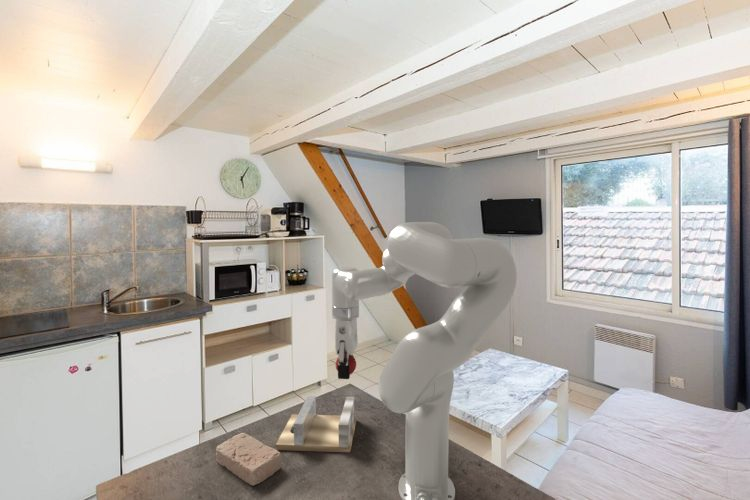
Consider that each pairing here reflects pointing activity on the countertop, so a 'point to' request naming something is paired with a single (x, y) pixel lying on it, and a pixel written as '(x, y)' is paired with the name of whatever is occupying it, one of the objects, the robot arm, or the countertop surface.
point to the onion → (351, 362)
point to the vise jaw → (304, 420)
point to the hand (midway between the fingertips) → (345, 372)
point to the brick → (248, 458)
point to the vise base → (324, 432)
